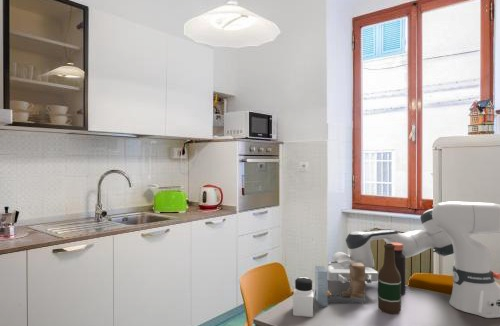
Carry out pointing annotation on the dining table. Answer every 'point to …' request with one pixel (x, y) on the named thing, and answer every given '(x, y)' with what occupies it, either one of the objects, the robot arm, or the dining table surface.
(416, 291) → the dining table surface
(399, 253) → the vinegar
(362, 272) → the carriage
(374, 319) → the dining table surface
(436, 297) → the dining table surface
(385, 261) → the beer bottle
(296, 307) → the medicine bottle
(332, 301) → the rail and cabinet
